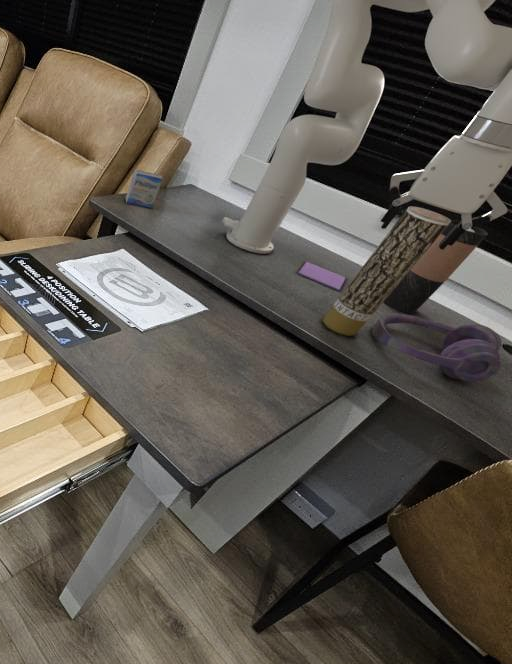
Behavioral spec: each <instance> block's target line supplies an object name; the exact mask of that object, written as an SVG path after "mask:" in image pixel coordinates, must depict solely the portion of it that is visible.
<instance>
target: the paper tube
mask: <svg viewBox="0 0 512 664" xmlns="http://www.w3.org/2000/svg"><path fill="white" fill-rule="evenodd" d="M451 220H452V219H450V218H449V217H447V216H445V215H443V214H441V213H438V212H435V211H433V210H430V209H426V208H424V207H419V206H408V207H407V208H406V210H405V211H403V213H402V214H401V216H400V217H399V219H398V220H397V221H396V222H395V224H394V225H393V226H392V228H391V229H390V230H389V232H388V233H387V234H386V236H385V237H384V238H383V239H382V240H381V242H380V243H379V245H378V246H377V247H376V248H375V250H374V251H373V253H372V254H371V255H370V256H369V258H368V259H367V260H366V261H365V263H364V264H363V265H362V266H361V268H360V270H359V271H358V272H357V273H356V274H355V276H354V277H353V279H352V280H351V281H350V283H349V284H348V285H347V286H346V287H345V289H344V290H343V292H342V293H341V294H340V296H339V297H338V298H337V300H336V301H335V302H334V304H333V305H332V306H331V308H330V309H329V310H328V312H327V313H326V314H325V316H324V317H323V318H322V323H323V325H324V326H325V327H326V328H328V329H329V330H330V331H332V332H333V333H336V334H339V335H340V336H341V335H342V336H346V337H351V336H354V335H356V334H357V333H358V332H359V331H360V330H361V329H362V328H363V326H365V324H366V323H367V322H368V320H370V318H371V317H372V316H373V315H374V313H375V312H377V310H378V309H379V308H380V306H381V305H383V303H385V301H384V300H385V299H386V298H387V297H388V296H389V295H390V293H391V292H392V291H393V290H394V289H395V288H396V286H397V285H398V284H399V283H400V282H401V280H402V279H403V278H404V277H405V276H406V275H407V273H408V272H409V271H410V270H411V269H412V267H413V266H414V265H415V264H416V263H417V262H418V260H419V259H420V258H421V257H422V256H423V254H424V253H425V252H426V251H427V250H428V249H429V247H430V246H431V245H432V244H433V243H434V242H435V240H436V239H437V238H438V237H439V236H440V234H441V233H442V232H443V231H444V230H445V229H446V227H447V226H448V225H449V223H450V222H451Z"/></svg>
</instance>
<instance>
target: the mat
mask: <svg viewBox="0 0 512 664" xmlns="http://www.w3.org/2000/svg"><path fill="white" fill-rule="evenodd" d="M297 275H300V276H302V277H305V278H307V279H309V280H311V281H313V282H316V283H318V284H321V285H324V286H326V287H328V288H330V289H333V290H335V291H338V292H340V290H341V288H342V286H343V284H344V282H345V280H346V277H345V276H343V275H340V274H338V273H335V272H333V271H331V270H328V269H325V268H323V267H322V266H319V265H316V264H313V263H311V262H309V261H306V262H305V263H304V264H303V265H302V267H301V269H299V271H298V273H297Z"/></svg>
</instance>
